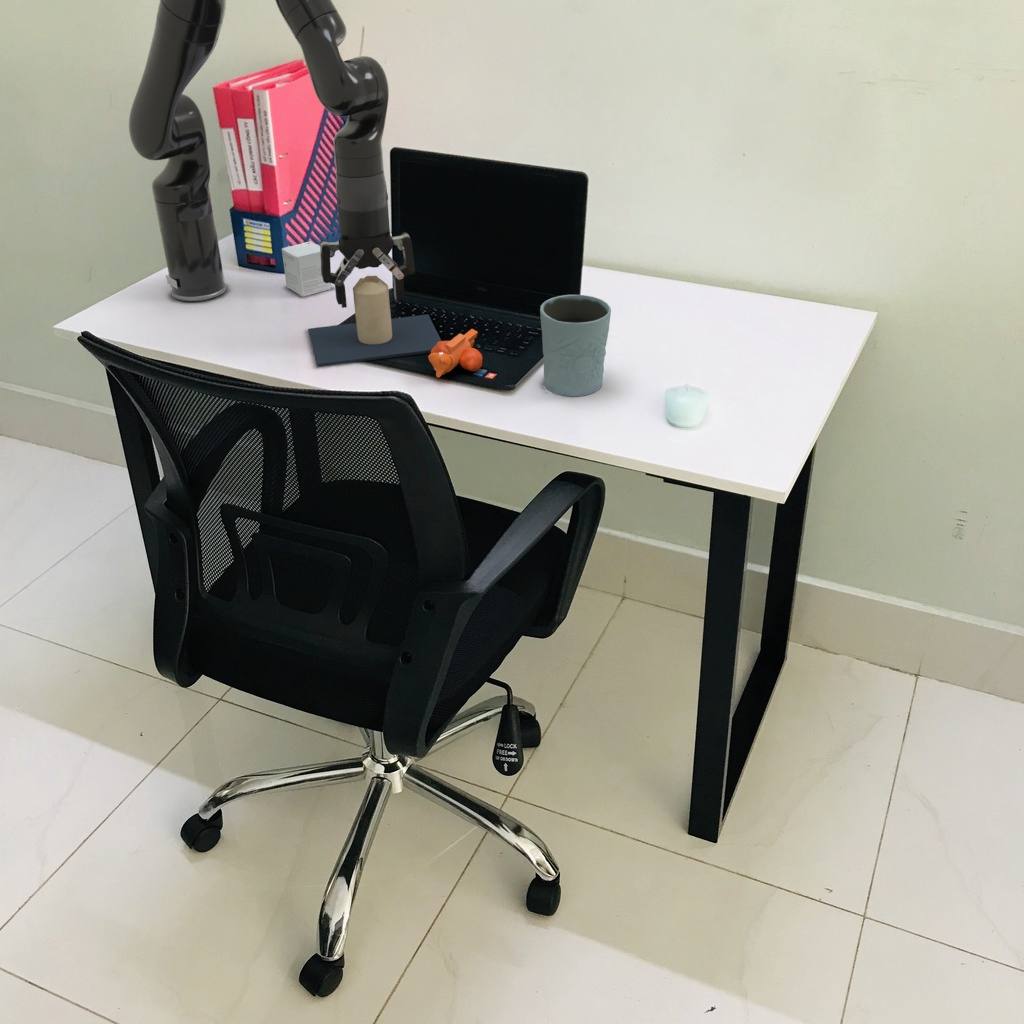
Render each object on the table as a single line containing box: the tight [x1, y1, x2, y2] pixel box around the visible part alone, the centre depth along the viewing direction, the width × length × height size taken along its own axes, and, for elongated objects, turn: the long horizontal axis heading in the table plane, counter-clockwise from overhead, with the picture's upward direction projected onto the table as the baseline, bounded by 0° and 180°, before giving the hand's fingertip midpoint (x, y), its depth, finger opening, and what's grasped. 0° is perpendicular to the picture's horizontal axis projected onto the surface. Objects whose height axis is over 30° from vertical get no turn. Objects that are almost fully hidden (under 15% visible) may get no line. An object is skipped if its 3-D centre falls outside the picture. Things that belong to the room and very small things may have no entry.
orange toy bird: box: [427, 328, 483, 378], centre depth 169 cm, size 5×8×12 cm
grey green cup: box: [539, 294, 612, 397], centre depth 162 cm, size 10×10×12 cm
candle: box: [352, 275, 392, 345], centre depth 176 cm, size 6×6×10 cm
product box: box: [281, 240, 332, 298], centre depth 197 cm, size 6×6×7 cm
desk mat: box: [307, 314, 442, 368], centre depth 179 cm, size 14×20×1 cm
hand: (370, 302), depth 176 cm, fingers open, 8 cm apart
